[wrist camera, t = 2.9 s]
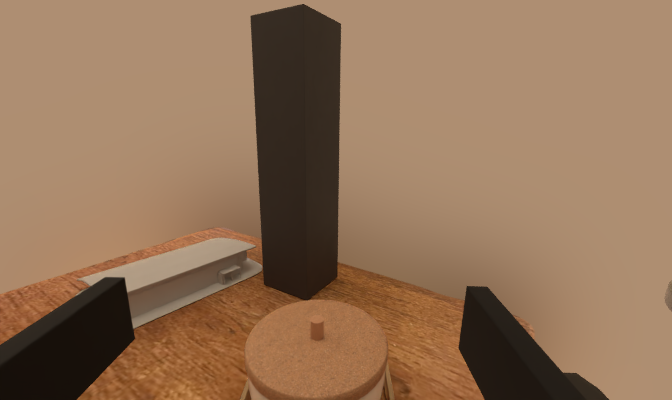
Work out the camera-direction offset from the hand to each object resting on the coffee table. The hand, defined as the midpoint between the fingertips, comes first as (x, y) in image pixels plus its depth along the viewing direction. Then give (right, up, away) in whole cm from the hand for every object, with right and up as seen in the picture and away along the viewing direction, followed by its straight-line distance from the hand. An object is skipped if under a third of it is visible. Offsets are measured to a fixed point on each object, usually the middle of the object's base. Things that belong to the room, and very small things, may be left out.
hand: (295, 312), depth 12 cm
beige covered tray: (-23, -8, +35) cm, 43 cm away
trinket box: (0, -14, +14) cm, 19 cm away
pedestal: (-4, -8, +35) cm, 37 cm away
